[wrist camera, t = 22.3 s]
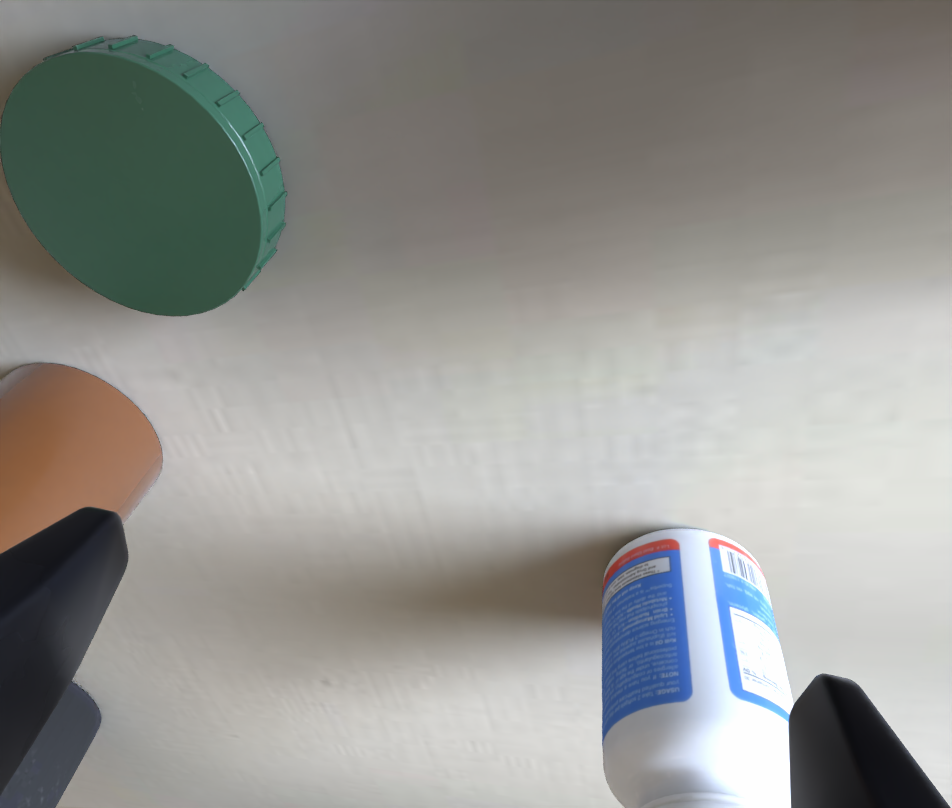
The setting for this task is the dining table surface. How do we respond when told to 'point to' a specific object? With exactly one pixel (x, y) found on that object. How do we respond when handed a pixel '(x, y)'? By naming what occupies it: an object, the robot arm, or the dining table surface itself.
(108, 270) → the jar lid
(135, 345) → the dining table surface
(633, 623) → the pill bottle
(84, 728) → the travel mug
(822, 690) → the robot arm
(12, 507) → the honey jar
